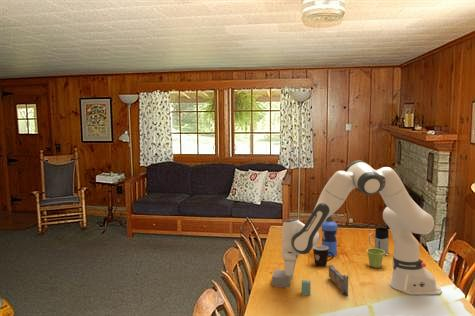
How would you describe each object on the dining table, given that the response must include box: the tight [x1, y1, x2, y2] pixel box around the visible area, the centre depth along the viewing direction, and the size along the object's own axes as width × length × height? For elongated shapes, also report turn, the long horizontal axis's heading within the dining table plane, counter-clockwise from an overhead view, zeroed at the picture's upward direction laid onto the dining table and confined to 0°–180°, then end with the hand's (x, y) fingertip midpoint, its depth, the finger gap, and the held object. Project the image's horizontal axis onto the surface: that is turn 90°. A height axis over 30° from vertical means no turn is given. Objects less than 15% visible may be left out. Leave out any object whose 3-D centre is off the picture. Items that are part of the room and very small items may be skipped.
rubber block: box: [271, 269, 291, 288], centre depth 193 cm, size 8×10×5 cm
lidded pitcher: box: [368, 227, 390, 255], centre depth 232 cm, size 9×14×15 cm, turn 112°
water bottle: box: [321, 214, 338, 257], centre depth 232 cm, size 9×9×25 cm
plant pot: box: [366, 247, 385, 269], centre depth 213 cm, size 9×9×9 cm
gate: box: [328, 264, 344, 293], centre depth 189 cm, size 18×2×6 cm, turn 7°
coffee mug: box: [312, 244, 335, 268], centre depth 215 cm, size 12×9×10 cm
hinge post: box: [342, 274, 349, 297], centre depth 178 cm, size 2×2×9 cm
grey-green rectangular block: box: [301, 280, 312, 296], centre depth 180 cm, size 4×2×6 cm, turn 77°
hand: (291, 277), depth 191 cm, fingers closed, pressing on rubber block
